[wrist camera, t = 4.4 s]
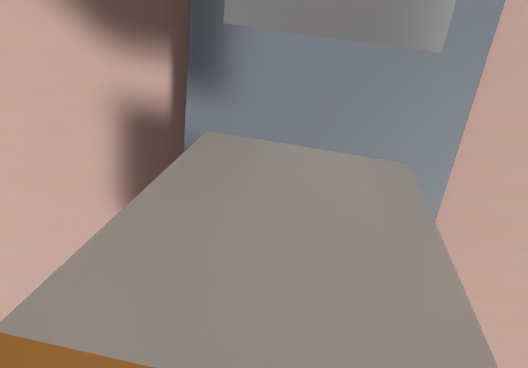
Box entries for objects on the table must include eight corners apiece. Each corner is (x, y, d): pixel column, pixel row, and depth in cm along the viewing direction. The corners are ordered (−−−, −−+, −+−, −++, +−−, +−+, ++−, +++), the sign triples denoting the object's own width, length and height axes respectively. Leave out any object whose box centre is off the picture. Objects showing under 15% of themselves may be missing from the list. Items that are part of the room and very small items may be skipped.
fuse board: (562, -237, 12) (590, -269, 11) (374, 381, 22) (376, 406, 20) (217, -260, 13) (203, -291, 12) (184, 339, 23) (174, 360, 21)
